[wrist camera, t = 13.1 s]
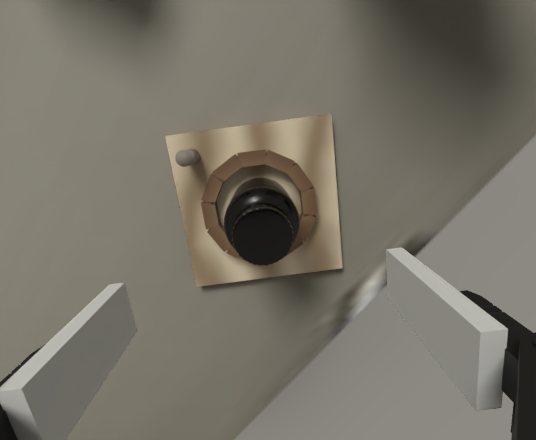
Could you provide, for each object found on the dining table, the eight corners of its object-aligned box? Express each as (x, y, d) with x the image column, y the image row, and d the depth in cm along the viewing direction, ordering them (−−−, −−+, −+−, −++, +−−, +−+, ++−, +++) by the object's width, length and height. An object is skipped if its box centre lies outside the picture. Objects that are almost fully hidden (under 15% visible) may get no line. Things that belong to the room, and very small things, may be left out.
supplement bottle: (279, 241, 36) (288, 290, 24) (224, 224, 35) (205, 265, 23) (299, 187, 34) (319, 211, 22) (242, 167, 33) (231, 181, 22)
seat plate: (329, 114, 33) (341, 109, 28) (340, 264, 38) (351, 283, 33) (168, 136, 34) (152, 135, 29) (198, 282, 38) (189, 303, 33)
